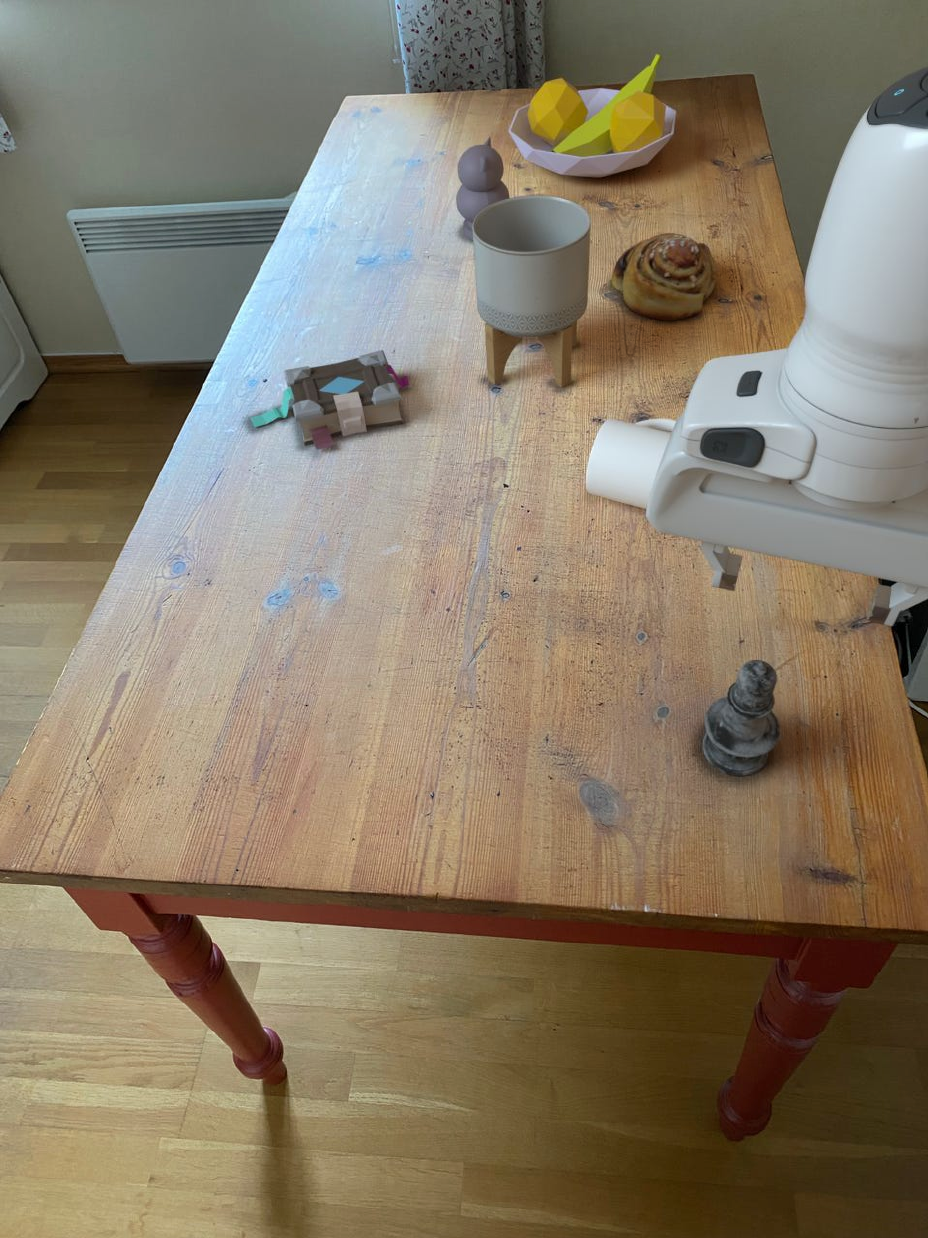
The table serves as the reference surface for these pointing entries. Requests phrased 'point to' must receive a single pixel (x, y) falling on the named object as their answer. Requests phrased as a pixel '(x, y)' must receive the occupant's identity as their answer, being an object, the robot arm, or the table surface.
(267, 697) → the table surface
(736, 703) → the chess piece
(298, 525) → the table surface
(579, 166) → the fruit bowl
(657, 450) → the mug
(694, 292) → the pastry
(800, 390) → the robot arm
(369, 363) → the book
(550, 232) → the planter
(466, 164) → the grey bird figurine
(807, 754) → the table surface
